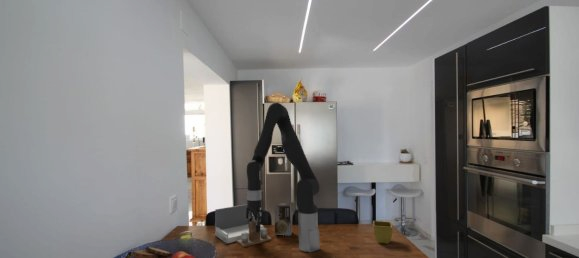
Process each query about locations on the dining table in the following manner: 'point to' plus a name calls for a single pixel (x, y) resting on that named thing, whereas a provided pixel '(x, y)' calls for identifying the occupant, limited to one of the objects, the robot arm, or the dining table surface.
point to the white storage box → (231, 223)
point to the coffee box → (283, 219)
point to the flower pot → (382, 231)
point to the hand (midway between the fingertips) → (254, 229)
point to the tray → (253, 236)
